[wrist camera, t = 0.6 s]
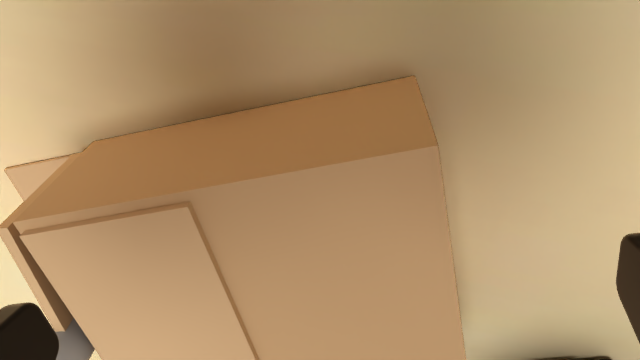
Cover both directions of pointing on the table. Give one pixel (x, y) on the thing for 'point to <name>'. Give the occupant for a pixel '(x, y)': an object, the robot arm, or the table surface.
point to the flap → (47, 282)
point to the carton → (256, 234)
